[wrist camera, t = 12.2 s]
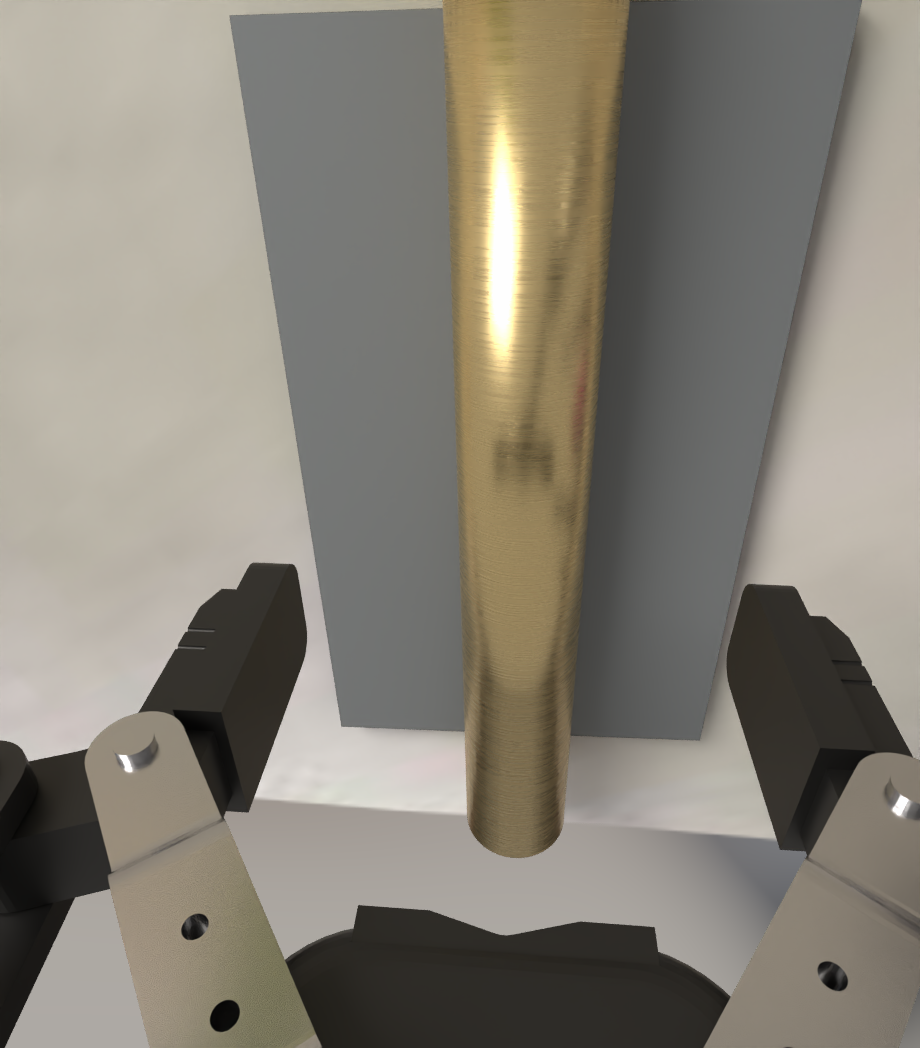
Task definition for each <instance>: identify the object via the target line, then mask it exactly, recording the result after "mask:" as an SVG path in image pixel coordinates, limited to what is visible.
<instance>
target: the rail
mask: <svg viewBox="0 0 920 1048" xmlns="http://www.w3.org/2000/svg"><path fill="white" fill-rule="evenodd" d="M629 5H630V0H443V31H444V64H445V97H446V130H447V163H448V196H449V229H450V262H451V295H452V328H453V361H454V394H455V427H456V461H457V494H458V527H459V560H460V593H461V626H462V659H463V692H464V725H465V758H466V791H467V818H468V823H469V827H470V829H471V831H472V833H473V835H474V836H475V838H476V839H477V840H478V841H479V842H480V843H481V844H482V845H483V846H484V847H486V848H487V849H488V850H490V851H492V852H494V853H496V854H498V855H502V856H505V857H511V858H524V857H530V856H533V855H536V854H539V853H541V852H543V851H544V850H546V849H547V848H549V847H550V846H551V845H552V844H553V843H554V842H555V841H556V840H557V838H558V836H559V835H560V833H561V830H562V827H563V821H564V809H565V796H566V784H567V772H568V759H569V747H570V735H571V722H572V710H573V697H574V685H575V673H576V660H577V648H578V636H579V623H580V611H581V599H582V586H583V574H584V561H585V549H586V537H587V524H588V512H589V500H590V487H591V475H592V462H593V450H594V438H595V425H596V413H597V401H598V388H599V376H600V364H601V351H602V339H603V326H604V314H605V302H606V289H607V277H608V265H609V252H610V240H611V228H612V215H613V203H614V190H615V178H616V166H617V153H618V141H619V129H620V116H621V104H622V92H623V79H624V67H625V54H626V42H627V30H628V17H629Z"/></svg>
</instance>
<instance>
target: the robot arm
mask: <svg viewBox="0 0 920 1048" xmlns="http://www.w3.org/2000/svg"><path fill="white" fill-rule="evenodd" d="M306 645H307V628H306V621H305V615H304V609H303V603H302V597H301V591H300V585H299V579H298V573H297V570H296V567H295V566H294V565H293V564H275V563H252V564H251V565H250V566H249V567H248V569H247V571H246V573H245V575H244V576H243V578H242V580H241V582H240V584H239V586H238V588H237V590H236V589H221V590H220V591H219V592H218V593H216V594H215V595H214V596H213V597H211V598H210V599H209V600H208V601H207V602H205V603H204V604H203V605H202V606H200V608H199V610H198V611H197V613H196V615H195V616H194V618H193V620H192V622H191V623H190V625H189V627H188V632H185V634H184V635H183V637H182V639H181V641H180V642H179V644H178V649H175V651H174V653H173V654H172V656H171V658H170V659H169V661H168V663H167V665H166V666H165V668H164V670H163V671H162V673H161V675H160V677H159V678H158V680H157V682H156V683H155V685H154V687H153V689H152V690H151V692H150V694H149V696H148V697H147V699H146V701H145V702H144V704H143V706H142V708H141V709H140V711H139V712H138V713H136V714H133V715H130V716H127V717H124V718H122V719H120V720H118V721H116V722H115V723H113V724H111V725H110V726H108V727H107V728H106V729H104V730H103V731H102V732H101V733H100V734H99V735H98V736H97V737H96V738H95V739H94V741H93V742H92V743H91V745H90V747H89V748H88V749H85V750H82V751H78V752H73V753H68V754H63V755H58V756H54V757H49V758H44V759H39V760H34V761H29V762H28V760H27V758H26V756H25V754H24V752H23V750H22V749H21V748H20V747H19V746H18V745H16V744H14V743H11V742H7V741H0V1048H5V1046H6V1044H7V1041H8V1039H9V1037H10V1035H11V1033H12V1031H13V1029H14V1027H15V1024H16V1022H17V1020H18V1018H19V1016H20V1014H21V1012H22V1010H23V1007H24V1005H25V1003H26V1001H27V999H28V996H29V994H30V992H31V990H32V988H33V986H34V984H35V982H36V980H37V977H38V975H39V973H40V971H41V969H42V967H43V965H44V962H45V960H46V958H47V956H48V954H49V952H50V950H51V947H52V945H53V943H54V941H55V939H56V937H57V935H58V933H59V930H60V928H61V926H62V924H63V922H64V920H65V918H66V915H67V913H68V911H69V909H70V907H71V905H72V903H73V901H74V898H75V897H79V896H83V895H87V894H91V893H95V892H99V891H103V890H107V889H110V890H111V895H112V899H113V903H114V906H115V910H116V915H117V918H118V922H119V926H120V930H121V934H122V939H123V943H124V946H125V951H126V954H127V959H128V962H129V966H130V970H131V974H132V978H133V982H134V986H135V990H136V994H137V998H138V1002H139V1006H140V1010H141V1014H142V1018H143V1022H144V1026H145V1030H146V1034H147V1038H148V1042H149V1046H150V1048H899V1046H900V1043H901V1040H902V1037H903V1034H904V1031H905V1028H906V1025H907V1023H908V1020H909V1016H910V1014H911V1011H912V1008H913V1005H914V1002H915V999H916V996H917V993H918V990H919V987H920V760H918V759H915V758H913V756H912V754H911V753H910V751H909V749H908V747H907V745H906V743H905V741H904V739H903V738H902V736H901V734H900V732H899V730H898V728H897V726H896V725H895V723H894V721H893V719H892V717H891V715H890V713H889V711H888V710H887V708H886V706H885V704H884V702H883V700H882V698H881V697H880V695H879V693H878V691H877V689H876V687H875V686H872V680H871V678H870V676H869V674H868V672H867V670H866V669H865V667H864V666H862V664H861V663H862V661H861V659H860V657H859V655H858V654H857V652H856V650H855V648H854V646H853V644H852V642H851V640H850V639H849V637H848V636H846V635H845V634H844V633H843V632H842V631H841V630H840V629H839V628H838V627H836V626H835V625H834V624H833V623H832V622H831V621H830V620H829V619H828V618H826V617H823V616H810V615H809V613H808V611H807V609H806V607H805V605H804V603H803V601H802V599H801V597H800V595H799V593H798V591H797V589H796V588H795V587H793V586H781V585H756V584H748V585H747V586H746V587H745V588H744V591H743V593H742V597H741V601H740V605H739V608H738V612H737V616H736V620H735V624H734V628H733V632H732V635H731V639H730V643H729V647H728V652H727V677H728V683H729V687H730V690H731V693H732V696H733V699H734V703H735V706H736V709H737V712H738V716H739V719H740V722H741V725H742V728H743V732H744V735H745V738H746V741H747V745H748V748H749V751H750V754H751V758H752V761H753V764H754V767H755V770H756V774H757V777H758V780H759V783H760V787H761V790H762V793H763V796H764V799H765V803H766V806H767V809H768V812H769V816H770V819H771V822H772V825H773V829H774V832H775V835H776V838H777V841H778V845H779V848H780V850H793V851H806V853H807V857H806V858H805V860H804V861H803V863H802V865H801V867H800V869H799V870H798V872H797V874H796V876H795V878H794V880H793V882H792V884H791V885H790V887H789V889H788V891H787V893H786V895H785V897H784V898H783V900H782V902H781V904H780V906H779V908H778V910H777V912H776V913H775V916H774V917H773V919H772V921H771V923H770V925H769V927H768V928H767V930H766V932H765V934H764V936H763V938H762V940H761V941H760V943H759V945H758V947H757V949H756V951H755V953H754V955H753V957H752V958H751V960H750V962H749V964H748V966H747V968H746V970H745V971H744V973H743V975H742V977H741V979H740V981H739V983H738V984H737V986H736V988H735V990H734V992H733V994H732V996H731V997H730V996H729V995H728V994H727V993H726V992H725V991H724V990H723V989H722V988H720V987H719V986H718V985H716V984H715V983H714V982H713V981H711V980H710V979H709V978H707V977H706V976H705V975H703V974H702V973H700V972H698V971H697V970H695V969H693V968H692V967H690V966H689V965H687V964H685V963H683V962H680V961H679V960H677V959H675V958H673V957H670V956H668V955H665V954H663V953H660V952H658V948H657V941H656V934H655V928H654V927H645V926H632V925H619V924H605V923H592V922H591V923H590V922H576V923H571V924H566V925H561V926H555V927H551V928H545V929H540V930H535V931H530V932H525V933H520V934H515V935H508V936H505V935H498V934H495V933H491V932H489V931H486V930H483V929H481V928H478V927H475V926H472V925H469V924H466V923H464V922H461V921H458V920H455V919H452V918H449V917H447V916H444V915H441V914H438V913H435V912H432V911H428V910H415V909H402V908H389V907H375V906H362V905H359V906H358V909H357V914H356V919H355V924H354V929H349V930H344V931H340V932H338V933H335V934H332V935H329V936H326V937H323V938H321V939H319V940H317V941H315V942H313V943H311V944H308V945H307V946H305V947H303V948H302V949H300V950H299V951H297V952H296V953H294V954H292V955H291V956H290V957H288V958H287V959H286V960H284V957H283V955H282V952H281V950H280V948H279V945H278V943H277V941H276V938H275V936H274V934H273V931H272V929H271V926H270V924H269V922H268V919H267V917H266V915H265V912H264V910H263V907H262V905H261V903H260V901H259V898H258V896H257V893H256V891H255V888H254V886H253V884H252V881H251V879H250V877H249V874H248V872H247V870H246V867H245V865H244V862H243V860H242V858H241V855H240V853H239V851H238V848H237V846H236V843H235V841H234V839H233V836H232V834H231V832H230V829H229V827H228V825H227V823H226V821H225V819H224V814H225V812H226V811H234V812H249V810H250V807H251V804H252V801H253V799H254V796H255V793H256V790H257V788H258V785H259V782H260V779H261V777H262V774H263V771H264V768H265V766H266V763H267V760H268V757H269V755H270V752H271V749H272V747H273V744H274V741H275V738H276V736H277V733H278V730H279V727H280V725H281V722H282V719H283V716H284V714H285V711H286V708H287V705H288V703H289V700H290V697H291V694H292V692H293V689H294V686H295V683H296V681H297V678H298V675H299V672H300V670H301V667H302V664H303V661H304V657H305V653H306Z"/></svg>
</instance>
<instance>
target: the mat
mask: <svg viewBox="0 0 920 1048" xmlns="http://www.w3.org/2000/svg"><path fill="white" fill-rule="evenodd" d="M861 2H862V0H674V1H644V2H630V5H629V17H628V30H627V42H626V54H625V67H624V79H623V92H622V104H621V116H620V129H619V141H618V153H617V166H616V178H615V190H614V203H613V215H612V228H611V240H610V252H609V265H608V277H607V289H606V302H605V314H604V326H603V339H602V351H601V364H600V376H599V388H598V401H597V413H596V425H595V438H594V450H593V462H592V475H591V487H590V500H589V512H588V524H587V537H586V549H585V561H584V574H583V586H582V599H581V611H580V623H579V636H578V648H577V660H576V673H575V685H574V697H573V710H572V722H571V736H597V737H622V738H648V739H674V740H700V737H701V732H702V728H703V723H704V719H705V714H706V710H707V705H708V700H709V696H710V691H711V687H712V682H713V678H714V673H715V668H716V664H717V659H718V655H719V650H720V646H721V641H722V637H723V632H724V627H725V623H726V618H727V614H728V609H729V605H730V600H731V595H732V591H733V586H734V582H735V577H736V573H737V568H738V564H739V559H740V554H741V550H742V545H743V541H744V536H745V532H746V527H747V522H748V518H749V513H750V509H751V504H752V500H753V495H754V491H755V486H756V481H757V477H758V472H759V468H760V463H761V459H762V454H763V449H764V445H765V440H766V436H767V431H768V427H769V422H770V418H771V413H772V408H773V404H774V399H775V395H776V390H777V386H778V381H779V376H780V372H781V367H782V363H783V358H784V354H785V349H786V344H787V340H788V335H789V331H790V326H791V322H792V317H793V313H794V308H795V303H796V299H797V294H798V290H799V285H800V281H801V276H802V271H803V267H804V262H805V258H806V253H807V249H808V244H809V240H810V235H811V230H812V226H813V221H814V217H815V212H816V208H817V203H818V198H819V194H820V189H821V185H822V180H823V176H824V171H825V167H826V162H827V157H828V153H829V148H830V144H831V139H832V135H833V130H834V125H835V121H836V116H837V112H838V107H839V103H840V98H841V94H842V89H843V84H844V80H845V75H846V71H847V66H848V62H849V57H850V52H851V48H852V43H853V39H854V34H855V30H856V25H857V20H858V16H859V11H860V7H861ZM230 23H231V29H232V35H233V42H234V48H235V54H236V61H237V67H238V73H239V80H240V86H241V92H242V99H243V105H244V111H245V118H246V124H247V130H248V137H249V143H250V149H251V156H252V162H253V168H254V175H255V181H256V187H257V194H258V200H259V206H260V213H261V219H262V225H263V232H264V238H265V244H266V251H267V257H268V263H269V270H270V276H271V282H272V289H273V295H274V301H275V308H276V314H277V320H278V327H279V333H280V340H281V346H282V352H283V359H284V365H285V371H286V378H287V384H288V390H289V397H290V403H291V409H292V416H293V422H294V428H295V435H296V441H297V447H298V454H299V460H300V466H301V473H302V479H303V485H304V492H305V498H306V504H307V511H308V517H309V523H310V530H311V536H312V542H313V549H314V555H315V561H316V568H317V574H318V580H319V587H320V593H321V599H322V606H323V612H324V618H325V625H326V631H327V637H328V644H329V650H330V656H331V663H332V669H333V675H334V682H335V688H336V695H337V701H338V707H339V714H340V720H341V726H342V727H365V728H391V729H416V730H442V731H465V725H464V692H463V659H462V626H461V593H460V560H459V527H458V494H457V461H456V427H455V394H454V361H453V328H452V295H451V262H450V229H449V196H448V163H447V130H446V97H445V64H444V31H443V8H437V9H408V10H378V11H348V12H319V13H289V14H260V15H230Z"/></svg>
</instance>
